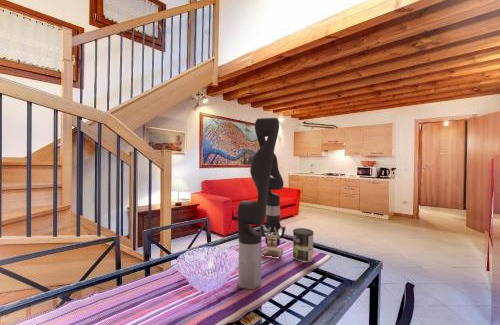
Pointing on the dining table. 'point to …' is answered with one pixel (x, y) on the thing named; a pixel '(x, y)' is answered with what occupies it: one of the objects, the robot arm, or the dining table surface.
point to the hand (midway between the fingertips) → (272, 244)
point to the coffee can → (303, 244)
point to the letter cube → (272, 241)
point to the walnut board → (272, 252)
